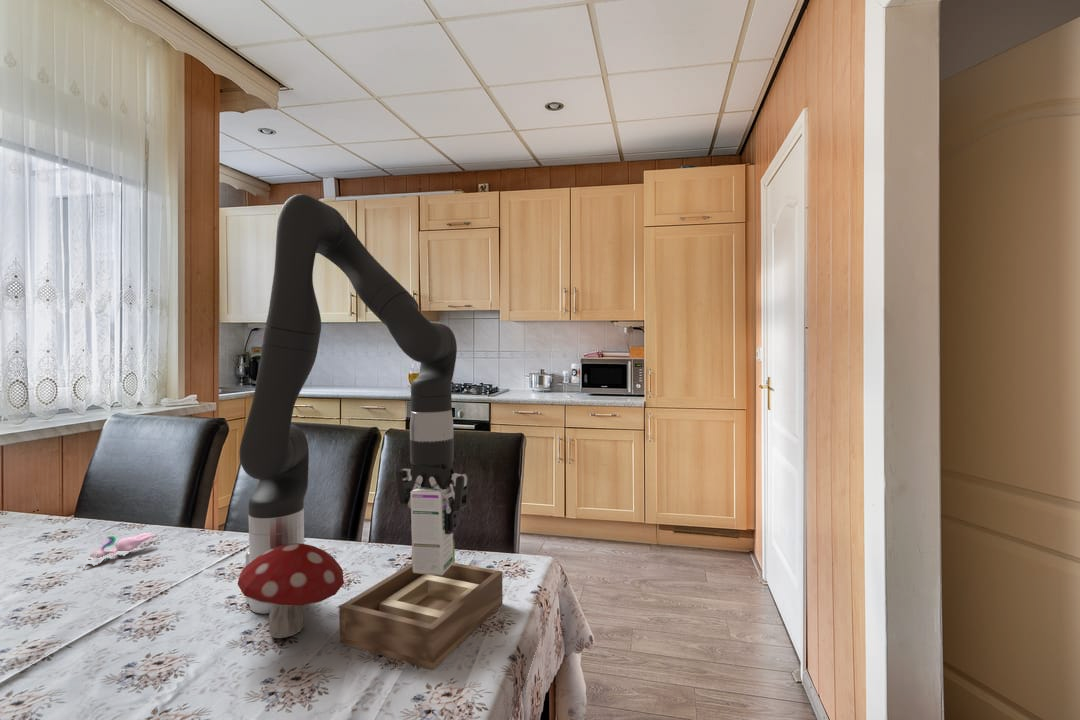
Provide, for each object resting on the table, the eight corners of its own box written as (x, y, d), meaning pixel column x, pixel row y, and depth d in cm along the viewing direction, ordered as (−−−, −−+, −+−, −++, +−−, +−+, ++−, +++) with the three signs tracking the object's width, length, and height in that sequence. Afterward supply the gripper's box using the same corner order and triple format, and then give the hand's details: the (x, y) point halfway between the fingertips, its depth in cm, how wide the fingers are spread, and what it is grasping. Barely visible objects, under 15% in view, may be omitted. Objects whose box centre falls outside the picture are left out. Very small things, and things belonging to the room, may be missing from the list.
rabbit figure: (89, 577, 113) (164, 543, 126) (83, 551, 112) (160, 520, 125) (75, 571, 116) (150, 539, 129) (69, 546, 115) (145, 516, 128)
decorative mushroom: (333, 602, 98) (332, 522, 98) (355, 641, 85) (354, 549, 84) (234, 627, 89) (233, 540, 89) (242, 675, 76) (241, 572, 76)
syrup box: (443, 576, 89) (442, 491, 89) (410, 573, 90) (410, 489, 90) (455, 562, 95) (454, 482, 94) (424, 560, 96) (423, 481, 96)
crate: (339, 643, 84) (339, 606, 84) (422, 586, 104) (422, 556, 104) (433, 669, 77) (432, 629, 77) (502, 603, 97) (502, 571, 97)
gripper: (478, 435, 93) (479, 528, 93) (411, 430, 98) (412, 519, 99) (455, 441, 86) (456, 543, 86) (384, 437, 91) (386, 532, 92)
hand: (433, 530), depth 92 cm, fingers closed on syrup box, 6 cm apart
